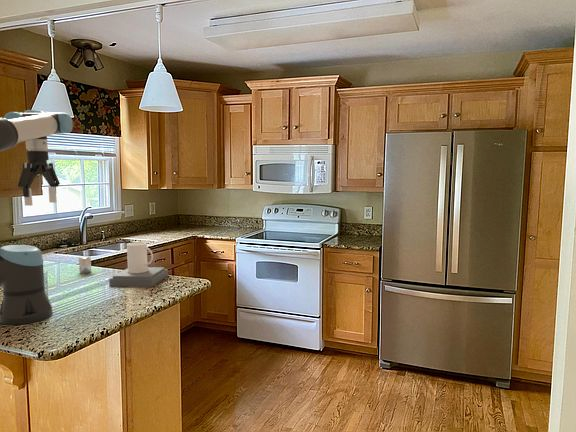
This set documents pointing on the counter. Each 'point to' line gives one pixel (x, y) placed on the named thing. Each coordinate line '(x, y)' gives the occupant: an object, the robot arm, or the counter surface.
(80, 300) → the counter surface
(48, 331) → the counter surface
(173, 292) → the counter surface
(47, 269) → the counter surface
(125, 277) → the podium
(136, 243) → the mug
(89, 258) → the spice tin
